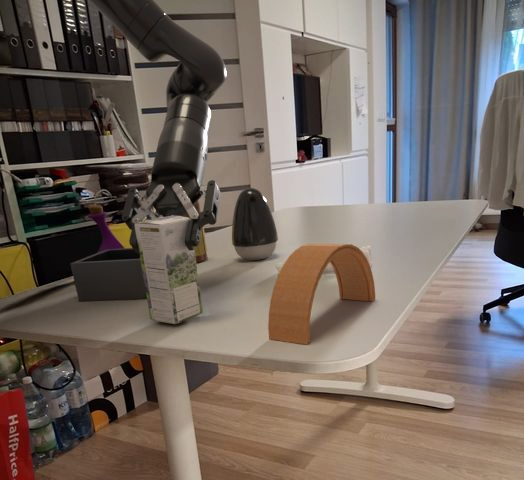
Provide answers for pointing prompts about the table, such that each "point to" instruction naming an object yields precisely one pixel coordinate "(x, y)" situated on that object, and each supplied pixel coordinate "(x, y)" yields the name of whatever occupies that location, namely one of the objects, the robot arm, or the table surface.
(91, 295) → the open box
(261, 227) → the black white egg shape
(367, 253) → the figurine
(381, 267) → the table surface
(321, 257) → the arch
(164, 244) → the syrup box
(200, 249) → the sauce bottle
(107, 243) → the purple potion bottle
